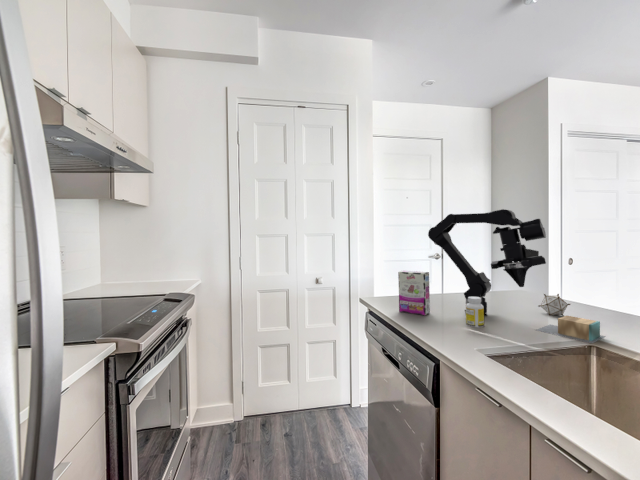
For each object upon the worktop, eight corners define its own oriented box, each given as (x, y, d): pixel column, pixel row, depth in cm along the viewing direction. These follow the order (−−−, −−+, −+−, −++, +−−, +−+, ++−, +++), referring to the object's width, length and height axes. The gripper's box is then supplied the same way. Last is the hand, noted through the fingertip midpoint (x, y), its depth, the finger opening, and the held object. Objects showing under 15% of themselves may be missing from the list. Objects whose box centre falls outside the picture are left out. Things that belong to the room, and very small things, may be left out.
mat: (535, 331, 96) (535, 329, 96) (550, 326, 101) (550, 324, 101) (592, 345, 84) (592, 343, 84) (605, 338, 89) (605, 336, 89)
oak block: (557, 318, 92) (591, 325, 86) (566, 315, 96) (599, 321, 89) (557, 333, 93) (591, 341, 86) (566, 329, 96) (599, 336, 89)
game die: (554, 324, 115) (563, 301, 117) (569, 322, 107) (579, 298, 109) (530, 311, 117) (539, 289, 119) (543, 309, 109) (553, 285, 111)
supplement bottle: (482, 324, 104) (482, 296, 104) (485, 329, 99) (485, 299, 99) (465, 323, 106) (464, 295, 106) (467, 328, 101) (466, 298, 101)
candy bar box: (430, 313, 120) (429, 271, 120) (425, 316, 116) (425, 273, 116) (403, 309, 127) (403, 270, 127) (398, 311, 124) (397, 271, 123)
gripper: (553, 236, 102) (565, 283, 100) (510, 243, 120) (520, 283, 118) (525, 241, 100) (537, 288, 98) (485, 247, 118) (495, 288, 116)
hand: (521, 286), depth 108 cm, fingers closed
